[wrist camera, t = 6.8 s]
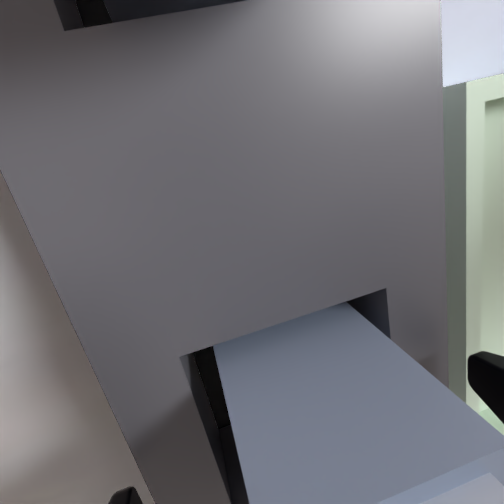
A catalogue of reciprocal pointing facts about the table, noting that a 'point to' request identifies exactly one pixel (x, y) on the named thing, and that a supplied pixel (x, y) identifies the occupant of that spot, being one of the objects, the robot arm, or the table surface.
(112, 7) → the twin plug
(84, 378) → the table surface
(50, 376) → the table surface
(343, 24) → the strip
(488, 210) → the tray
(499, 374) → the robot arm
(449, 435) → the plug
